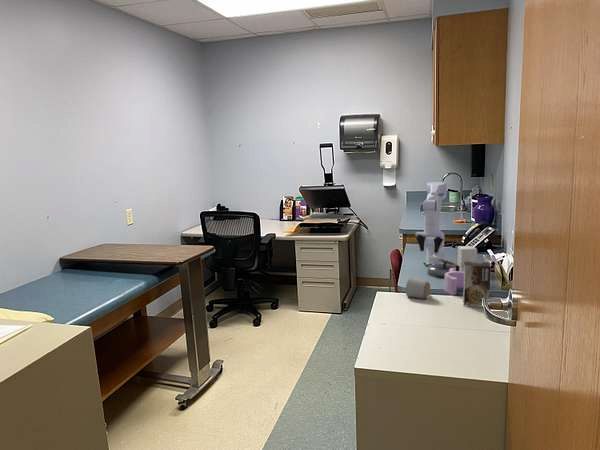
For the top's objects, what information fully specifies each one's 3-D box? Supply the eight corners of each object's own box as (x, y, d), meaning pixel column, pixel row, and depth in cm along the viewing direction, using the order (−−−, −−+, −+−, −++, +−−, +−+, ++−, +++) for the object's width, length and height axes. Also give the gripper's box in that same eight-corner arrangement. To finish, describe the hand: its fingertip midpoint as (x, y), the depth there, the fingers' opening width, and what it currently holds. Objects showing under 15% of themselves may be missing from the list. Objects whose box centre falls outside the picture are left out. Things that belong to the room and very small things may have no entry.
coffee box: (487, 302, 167) (489, 262, 164) (489, 308, 161) (491, 265, 158) (462, 300, 169) (464, 260, 167) (463, 306, 163) (465, 264, 161)
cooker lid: (440, 262, 218) (441, 259, 218) (462, 268, 206) (463, 264, 207) (423, 254, 211) (424, 251, 211) (445, 259, 200) (446, 255, 200)
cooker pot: (437, 268, 221) (437, 260, 220) (467, 276, 205) (467, 267, 205) (417, 272, 214) (418, 263, 213) (447, 280, 198) (447, 271, 198)
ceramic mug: (425, 301, 169) (425, 282, 168) (405, 298, 174) (405, 279, 173) (432, 294, 178) (433, 276, 177) (413, 292, 183) (414, 274, 182)
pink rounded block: (443, 282, 197) (444, 267, 196) (472, 283, 193) (473, 268, 192) (444, 295, 178) (445, 278, 177) (477, 297, 174) (477, 280, 173)
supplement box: (472, 270, 216) (473, 245, 214) (476, 274, 208) (477, 248, 207) (456, 270, 216) (457, 245, 215) (460, 274, 209) (461, 248, 207)
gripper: (412, 223, 212) (411, 250, 213) (439, 225, 201) (438, 254, 203) (420, 222, 217) (419, 249, 218) (447, 224, 206) (446, 252, 208)
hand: (429, 251), depth 211 cm, fingers open, 7 cm apart
